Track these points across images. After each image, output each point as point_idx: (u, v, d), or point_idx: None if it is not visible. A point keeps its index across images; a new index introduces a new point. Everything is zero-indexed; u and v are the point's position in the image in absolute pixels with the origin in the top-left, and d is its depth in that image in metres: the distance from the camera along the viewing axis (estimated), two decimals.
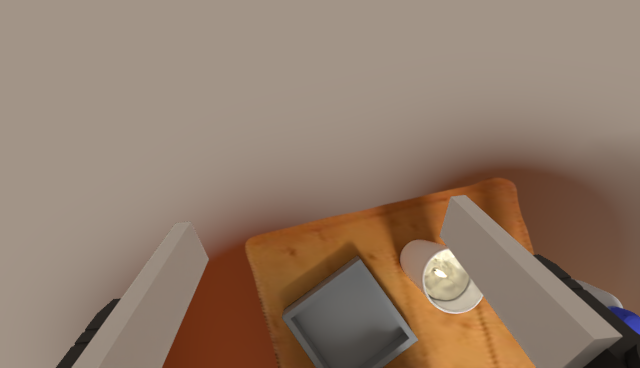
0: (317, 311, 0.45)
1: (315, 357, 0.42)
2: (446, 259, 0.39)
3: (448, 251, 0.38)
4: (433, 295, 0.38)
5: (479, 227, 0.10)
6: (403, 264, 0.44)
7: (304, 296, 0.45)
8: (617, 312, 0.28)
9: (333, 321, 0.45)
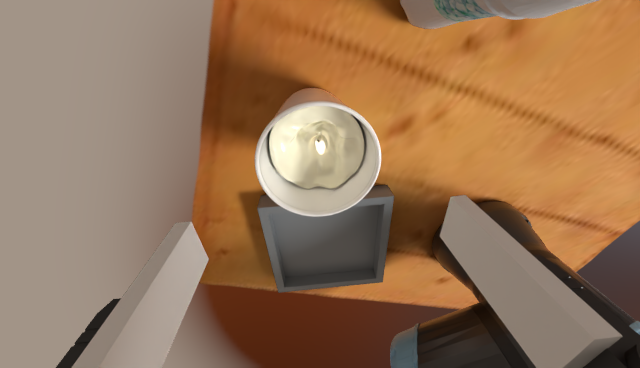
0: (297, 259, 0.39)
1: (332, 283, 0.39)
2: (303, 125, 0.20)
3: (285, 120, 0.19)
4: (339, 180, 0.22)
5: (479, 227, 0.10)
6: None
7: None
8: None
9: (316, 252, 0.38)
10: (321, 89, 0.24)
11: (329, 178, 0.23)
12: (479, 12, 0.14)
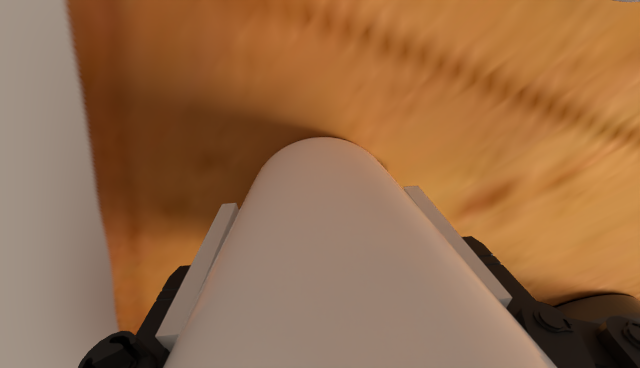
0: None
1: None
2: None
3: None
4: None
5: None
6: None
7: None
8: None
9: None
10: (343, 145, 0.11)
11: None
12: None
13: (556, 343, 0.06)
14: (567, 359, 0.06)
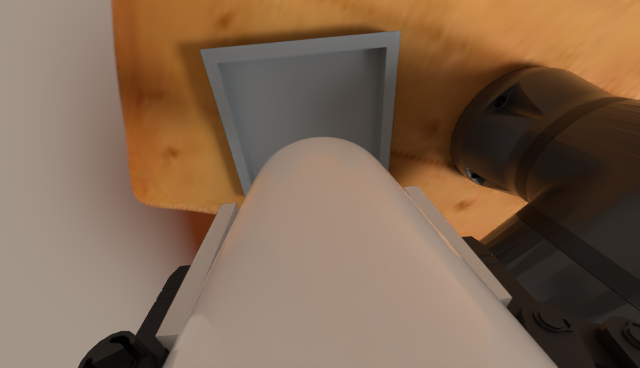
0: None
1: None
2: None
3: None
4: None
5: None
6: None
7: None
8: None
9: None
10: (343, 145, 0.11)
11: None
12: None
13: (556, 343, 0.06)
14: (567, 359, 0.06)
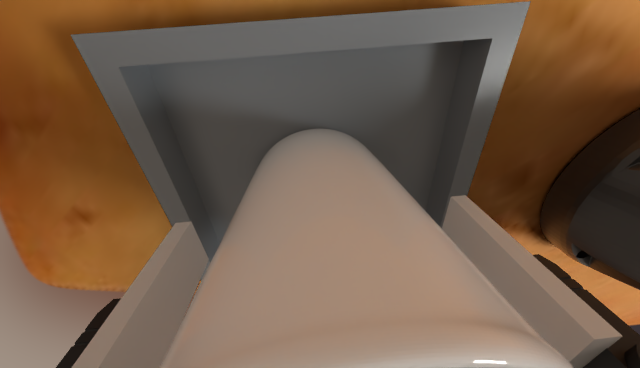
0: None
1: None
2: None
3: None
4: None
5: (479, 227, 0.10)
6: None
7: None
8: None
9: None
10: (337, 135, 0.12)
11: None
12: None
13: None
14: None
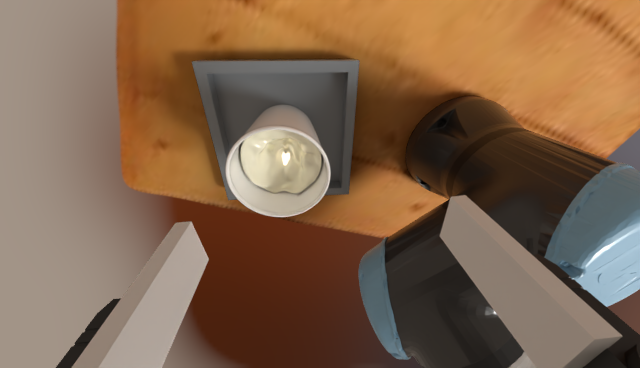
0: None
1: None
2: (270, 140, 0.24)
3: (254, 136, 0.22)
4: (301, 187, 0.26)
5: (479, 227, 0.10)
6: None
7: None
8: None
9: None
10: (291, 107, 0.28)
11: (294, 184, 0.27)
12: None
13: None
14: None
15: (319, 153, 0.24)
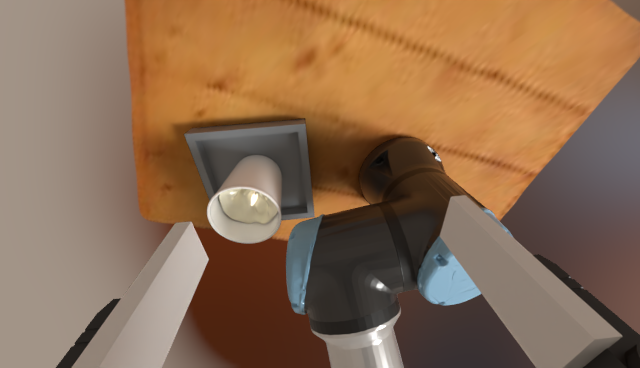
0: None
1: None
2: (240, 188, 0.33)
3: None
4: (267, 219, 0.36)
5: (479, 227, 0.10)
6: None
7: None
8: None
9: None
10: (259, 157, 0.38)
11: (263, 216, 0.36)
12: None
13: None
14: None
15: None
